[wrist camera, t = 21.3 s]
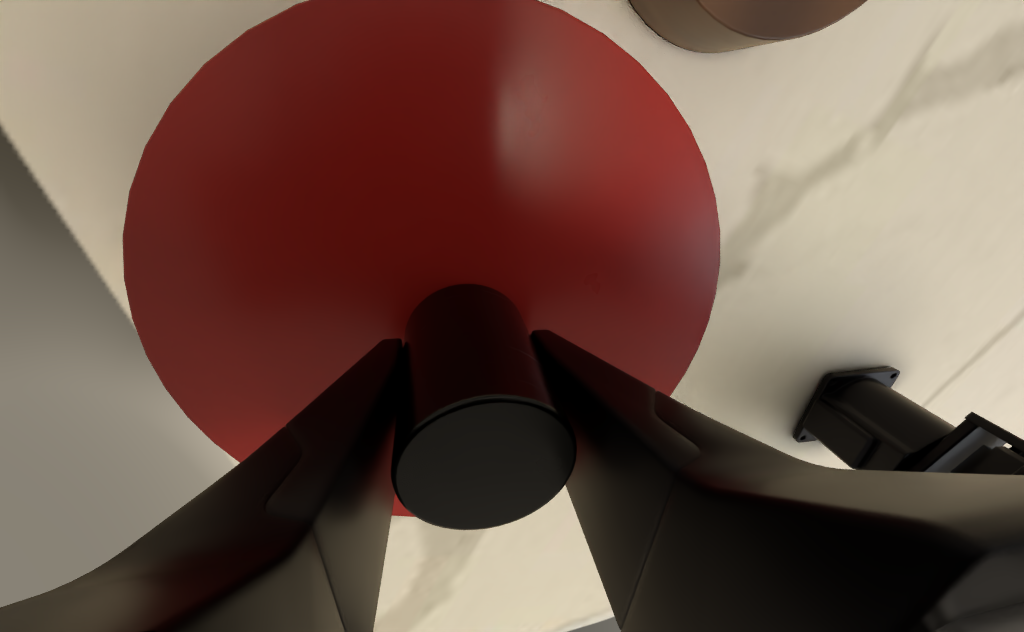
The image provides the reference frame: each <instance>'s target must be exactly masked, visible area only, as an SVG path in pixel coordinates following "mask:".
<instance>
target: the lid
mask: <svg viewBox="0 0 1024 632" xmlns="http://www.w3.org/2000/svg"><path fill="white" fill-rule="evenodd" d="M123 260H124V281H125V286H126V290H127V295H128V300H129V305H130V310H131V314H132V319H133V322H134V324H135V327H136V329H137V332H138V335H139V337H140V340H141V342H142V345H143V347H144V350H145V353H146V355H147V357H148V359H149V361H150V362H151V364H152V366H153V368H154V369H155V371H156V373H157V375H158V376H159V378H160V380H161V382H162V383H163V385H164V387H165V388H166V390H167V391H168V392H169V393H170V395H171V396H172V397H173V399H174V400H175V401H176V402H177V404H178V405H179V406H180V408H181V409H182V410H183V411H184V413H185V414H186V415H187V417H188V418H189V419H190V420H191V421H192V422H193V423H194V424H195V425H196V426H198V428H199V429H200V430H202V432H203V433H204V434H205V435H206V436H208V437H209V438H210V439H211V440H212V441H213V442H214V443H215V444H216V445H218V446H219V447H220V448H222V449H223V450H224V451H225V452H227V453H228V454H229V455H231V456H232V457H233V458H235V459H236V460H237V461H238V462H240V463H241V462H242V461H243V460H245V459H246V458H247V457H248V456H249V455H251V454H252V453H253V452H254V451H255V450H257V449H258V448H259V447H260V446H261V445H263V444H264V443H265V442H266V441H267V440H269V439H270V438H271V437H272V436H273V435H274V434H275V433H277V432H278V431H279V430H280V429H281V428H282V427H285V426H286V424H287V423H288V422H289V421H290V420H292V419H293V418H294V417H295V416H296V415H297V414H298V413H300V412H301V411H302V410H303V409H304V408H305V407H306V406H307V405H309V404H310V403H311V402H312V401H313V400H314V399H315V398H317V397H318V396H319V395H320V394H321V393H322V392H323V391H325V390H326V389H327V388H328V387H329V386H330V385H331V384H333V383H334V382H335V381H336V380H337V379H338V378H339V377H340V376H342V375H343V374H344V373H345V372H346V371H347V370H348V369H350V368H351V367H352V366H353V365H354V364H355V363H356V362H358V361H359V360H360V359H361V358H362V357H363V356H364V355H366V354H367V353H368V352H369V351H370V350H371V349H372V348H374V347H375V346H376V345H377V344H378V343H379V342H380V341H382V340H383V339H395V338H399V339H401V340H402V343H403V355H402V365H401V375H400V384H399V393H398V403H397V413H396V423H395V432H394V442H393V452H392V461H391V481H392V485H393V489H394V491H395V497H394V503H393V509H392V515H394V516H410V517H417V518H419V519H421V520H423V521H425V522H427V523H430V524H432V525H435V526H439V527H443V528H449V529H456V530H478V529H487V528H492V527H497V526H501V525H504V524H508V523H511V522H513V521H516V520H519V519H521V518H523V517H525V516H527V515H529V514H531V513H533V512H535V511H536V510H538V509H539V508H541V507H542V506H544V505H545V504H547V503H548V502H549V501H550V500H551V499H553V498H554V497H555V496H556V495H557V494H558V493H559V492H560V490H561V489H562V488H563V487H564V485H565V484H566V482H567V481H568V479H569V477H570V476H571V473H572V471H573V469H574V466H575V462H576V454H577V442H576V437H575V434H574V431H573V428H572V426H571V424H570V422H569V420H568V417H567V415H566V413H565V411H564V409H563V406H562V404H561V402H560V400H559V398H558V395H557V393H556V391H555V389H554V387H553V384H552V382H551V380H550V378H549V376H548V373H547V371H546V369H545V367H544V365H543V362H542V360H541V358H540V356H539V354H538V352H537V349H536V347H535V345H534V343H533V341H532V338H531V336H530V335H531V333H532V331H534V330H545V329H546V330H550V331H552V332H553V333H555V334H557V335H559V336H561V337H562V338H564V339H566V340H568V341H570V342H572V343H573V344H575V345H577V346H579V347H581V348H582V349H584V350H586V351H588V352H590V353H591V354H593V355H595V356H597V357H599V358H600V359H602V360H604V361H606V362H608V363H609V364H611V365H613V366H615V367H617V368H618V369H620V370H622V371H624V372H626V373H627V374H629V375H631V376H633V377H635V378H636V379H638V380H640V381H642V382H644V383H645V384H647V385H649V386H651V387H653V388H654V389H655V390H656V391H660V392H662V393H664V394H665V395H667V396H669V397H670V395H671V394H672V392H673V391H674V389H675V388H676V386H677V385H678V383H679V382H680V380H681V379H682V377H683V376H684V374H685V373H686V371H687V369H688V367H689V365H690V363H691V361H692V359H693V357H694V356H695V354H696V352H697V350H698V348H699V345H700V342H701V340H702V337H703V335H704V332H705V330H706V327H707V324H708V322H709V318H710V314H711V310H712V306H713V303H714V299H715V295H716V289H717V281H718V274H719V266H720V227H719V220H718V213H717V205H716V198H715V194H714V191H713V187H712V184H711V180H710V177H709V173H708V170H707V166H706V163H705V160H704V158H703V156H702V154H701V152H700V149H699V147H698V145H697V143H696V141H695V138H694V136H693V134H692V132H691V130H690V128H689V126H688V125H687V123H686V122H685V120H684V119H683V117H682V115H681V114H680V112H679V111H678V109H677V108H676V106H675V105H674V103H673V102H672V100H671V99H670V97H669V96H668V94H667V93H666V92H665V91H664V90H663V89H662V87H661V86H660V85H659V84H658V83H657V82H656V81H655V80H654V79H653V77H652V76H651V75H650V74H649V73H648V72H647V71H646V70H645V69H644V67H643V66H642V65H641V64H640V63H639V62H638V61H637V60H635V59H634V58H633V57H632V56H630V55H629V54H628V53H627V52H625V51H624V50H623V49H622V48H621V47H619V46H618V45H617V44H616V43H614V42H613V41H612V40H611V39H609V38H608V37H607V36H606V35H604V34H603V33H601V32H600V31H598V30H596V29H594V28H593V27H591V26H589V25H587V24H586V23H584V22H582V21H580V20H579V19H577V18H575V17H573V16H572V15H570V14H568V13H566V12H565V11H563V10H561V9H559V8H556V7H553V6H551V5H548V4H545V3H543V2H540V1H537V0H308V1H305V2H302V3H299V4H296V5H294V6H292V7H290V8H288V9H286V10H284V11H282V12H281V13H279V14H277V15H275V16H273V17H271V18H269V19H267V20H265V21H264V22H262V23H260V24H258V25H256V26H254V27H252V28H250V29H249V30H247V31H245V32H244V33H243V34H242V35H240V36H239V37H238V38H237V39H235V40H234V41H233V42H232V43H230V44H229V45H228V46H226V47H225V48H224V49H223V50H221V51H220V52H219V53H218V54H216V55H215V56H214V57H213V58H211V59H210V60H209V61H207V62H206V63H205V64H204V65H203V66H202V67H201V68H200V70H199V71H198V72H197V73H196V74H195V75H194V77H193V78H192V79H191V80H190V81H189V82H188V83H187V85H186V86H185V87H184V88H183V89H182V90H181V91H180V93H179V94H178V95H177V96H176V97H175V98H174V100H173V101H172V102H171V103H170V105H169V106H168V108H167V110H166V112H165V113H164V115H163V117H162V118H161V120H160V122H159V124H158V125H157V127H156V129H155V130H154V132H153V134H152V136H151V137H150V139H149V141H148V142H147V144H146V146H145V149H144V151H143V154H142V157H141V160H140V163H139V166H138V168H137V171H136V174H135V177H134V180H133V183H132V186H131V188H130V191H129V198H128V204H127V211H126V218H125V224H124V231H123Z"/></svg>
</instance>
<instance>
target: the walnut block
mask: <svg viewBox="0 0 1024 632" xmlns="http://www.w3.org/2000/svg"><path fill="white" fill-rule="evenodd" d="M866 1H867V0H630V2H631V3H632V5H633V7H634V8H635V10H636V11H637V13H638V14H639V15H640V16H641V17H642V18H643V20H644V21H645V22H646V23H647V24H648V25H649V26H650V27H651V28H652V29H653V30H654V31H655V32H657V33H658V34H659V35H660V36H661V37H663V38H665V39H666V40H668V41H670V42H671V43H673V44H675V45H677V46H680V47H682V48H685V49H688V50H692V51H697V52H703V53H720V52H726V51H731V50H737V49H742V48H747V47H753V46H758V45H763V44H768V43H774V42H779V41H784V40H789V39H795V38H800V37H803V36H806V35H809V34H812V33H814V32H817V31H820V30H822V29H824V28H826V27H828V26H830V25H832V24H834V23H836V22H838V21H839V20H841V19H842V18H844V17H845V16H847V15H848V14H850V13H851V12H853V11H854V10H856V9H857V8H858V7H860V6H861V5H862V4H863V3H865V2H866Z"/></svg>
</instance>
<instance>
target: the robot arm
mask: <svg viewBox="0 0 1024 632" xmlns="http://www.w3.org/2000/svg"><path fill="white" fill-rule="evenodd" d="M530 336H531V338H532V341H533V343H534V345H535V347H536V349H537V352H538V354H539V356H540V358H541V360H542V362H543V365H544V367H545V369H546V371H547V373H548V376H549V378H550V380H551V382H552V384H553V387H554V389H555V391H556V393H557V395H558V398H559V400H560V402H561V404H562V406H563V409H564V411H565V413H566V415H567V417H568V420H569V422H570V424H571V426H572V428H573V431H574V434H575V437H576V442H577V454H576V462H575V466H574V469H573V471H572V473H571V476H570V477H569V479H568V481H567V482H566V484H565V485H566V487H567V490H568V493H569V495H570V498H571V501H572V503H573V506H574V509H575V511H576V514H577V517H578V519H579V522H580V525H581V527H582V530H583V533H584V535H585V538H586V541H587V543H588V546H589V549H590V551H591V554H592V557H593V559H594V562H595V565H596V567H597V570H598V573H599V575H600V578H601V581H602V583H603V586H604V589H605V591H606V594H607V597H608V599H609V602H610V605H611V607H612V610H613V613H614V615H615V618H616V621H617V623H618V626H619V628H620V630H621V632H1024V440H1023V439H1021V438H1019V437H1017V436H1015V435H1013V434H1012V433H1010V432H1008V431H1006V430H1004V429H1003V428H1001V427H999V426H997V425H995V424H993V423H992V422H990V421H988V420H986V419H984V418H982V417H981V416H979V415H977V414H975V413H973V412H971V413H970V414H968V415H967V416H966V417H965V419H966V420H964V421H963V422H962V423H961V424H960V425H959V426H957V427H954V426H953V425H951V424H949V423H948V422H946V421H944V420H943V419H941V418H939V417H938V416H936V415H934V414H933V413H931V412H929V411H928V410H926V409H924V408H923V407H921V406H919V405H918V404H916V403H914V402H913V401H911V400H909V399H908V398H906V397H904V396H903V395H901V394H899V393H898V392H896V391H894V390H893V389H891V386H892V385H893V383H894V382H895V380H896V379H897V377H898V376H899V373H900V371H899V370H897V369H895V368H893V367H888V368H878V369H868V370H858V371H848V372H838V373H830V374H828V375H826V376H825V377H824V378H823V380H822V382H821V384H820V385H819V387H818V389H817V391H816V393H815V395H814V397H813V399H812V401H811V402H810V404H809V406H808V408H807V410H806V412H805V414H804V416H803V418H802V420H801V421H800V423H799V425H798V427H797V429H796V431H795V433H794V435H793V438H794V439H795V440H796V441H797V442H807V441H815V440H819V441H820V442H821V443H822V444H823V445H824V446H826V447H827V448H828V449H829V450H830V451H832V452H833V453H834V454H835V455H836V456H837V457H839V458H840V459H841V460H842V461H843V462H845V463H846V464H847V465H848V466H849V467H851V468H852V469H856V470H847V469H836V468H829V467H824V466H820V465H815V464H811V463H808V462H805V461H802V460H799V459H797V458H795V457H792V456H790V455H788V454H785V453H783V452H781V451H779V450H777V449H775V448H773V447H771V446H768V445H766V444H764V443H762V442H760V441H758V440H756V439H754V438H751V437H749V436H747V435H745V434H743V433H741V432H739V431H737V430H734V429H732V428H730V427H728V426H726V425H724V424H722V423H720V422H718V421H716V420H713V419H711V418H709V417H707V416H705V415H703V414H701V413H699V412H697V411H695V410H693V409H691V408H689V407H687V406H686V405H684V404H682V403H680V402H678V401H676V400H674V399H672V398H671V397H669V396H667V395H665V394H664V393H662V392H660V391H656V390H655V389H654V388H653V387H651V386H649V385H647V384H645V383H644V382H642V381H640V380H638V379H636V378H635V377H633V376H631V375H629V374H627V373H626V372H624V371H622V370H620V369H618V368H617V367H615V366H613V365H611V364H609V363H608V362H606V361H604V360H602V359H600V358H599V357H597V356H595V355H593V354H591V353H590V352H588V351H586V350H584V349H582V348H581V347H579V346H577V345H575V344H573V343H572V342H570V341H568V340H566V339H564V338H562V337H561V336H559V335H557V334H555V333H553V332H552V331H550V330H546V329H545V330H534V331H532V333H531V335H530ZM402 355H403V343H402V340H401V339H399V338H395V339H383V340H382V341H380V342H379V343H378V344H377V345H376V346H375V347H374V348H372V349H371V350H370V351H369V352H368V353H367V354H366V355H364V356H363V357H362V358H361V359H360V360H359V361H358V362H356V363H355V364H354V365H353V366H352V367H351V368H350V369H348V370H347V371H346V372H345V373H344V374H343V375H342V376H340V377H339V378H338V379H337V380H336V381H335V382H334V383H333V384H331V385H330V386H329V387H328V388H327V389H326V390H325V391H323V392H322V393H321V394H320V395H319V396H318V397H317V398H315V399H314V400H313V401H312V402H311V403H310V404H309V405H307V406H306V407H305V408H304V409H303V410H302V411H301V412H300V413H298V414H297V415H296V416H295V417H294V418H293V419H292V420H290V421H289V422H288V423H287V424H286V426H285V427H282V428H281V429H280V430H279V431H278V432H277V433H275V434H274V435H273V436H272V437H271V438H270V439H269V440H267V441H266V442H265V443H264V444H263V445H261V446H260V447H259V448H258V449H257V450H255V451H254V452H253V453H252V454H251V455H249V456H248V457H247V458H246V459H245V460H243V461H242V462H241V463H240V464H238V465H237V466H236V467H234V468H233V469H232V470H231V471H229V472H228V473H227V474H226V475H224V476H223V477H221V478H220V479H219V480H218V481H216V482H215V483H214V484H213V485H211V486H210V487H208V488H207V489H206V490H204V491H203V492H202V493H200V494H199V495H198V496H196V497H195V498H194V499H192V500H191V501H190V502H188V503H187V504H186V505H184V506H183V507H182V508H180V509H179V510H178V511H176V512H175V513H173V514H172V515H171V516H169V517H168V518H167V519H165V520H164V521H163V522H161V523H160V524H159V525H157V526H156V527H155V528H153V529H152V530H151V531H150V532H148V533H147V534H145V535H144V536H143V537H141V538H140V539H139V540H137V541H136V542H135V543H133V544H132V545H131V546H129V547H128V548H127V549H125V550H124V551H122V552H121V553H119V554H118V555H116V556H115V557H114V558H112V559H111V560H109V561H108V562H106V563H104V564H103V565H101V566H99V567H98V568H96V569H94V570H93V571H91V572H89V573H87V574H85V575H83V576H81V577H79V578H77V579H75V580H73V581H72V582H69V583H67V584H65V585H62V586H60V587H58V588H56V589H53V590H51V591H48V592H46V593H43V594H40V595H37V596H34V597H31V598H28V599H25V600H22V601H19V602H16V603H13V604H10V605H7V606H4V607H1V608H0V632H373V629H374V622H375V616H376V610H377V603H378V597H379V591H380V585H381V578H382V572H383V566H384V559H385V553H386V547H387V541H388V534H389V528H390V522H391V516H392V509H393V503H394V497H395V491H394V489H393V485H392V481H391V461H392V452H393V442H394V432H395V423H396V413H397V403H398V393H399V384H400V375H401V365H402ZM1006 443H1008V444H1010V445H1012V447H1011V448H1009V449H1008V448H1006V447H1003V445H1004V444H1006Z"/></svg>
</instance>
